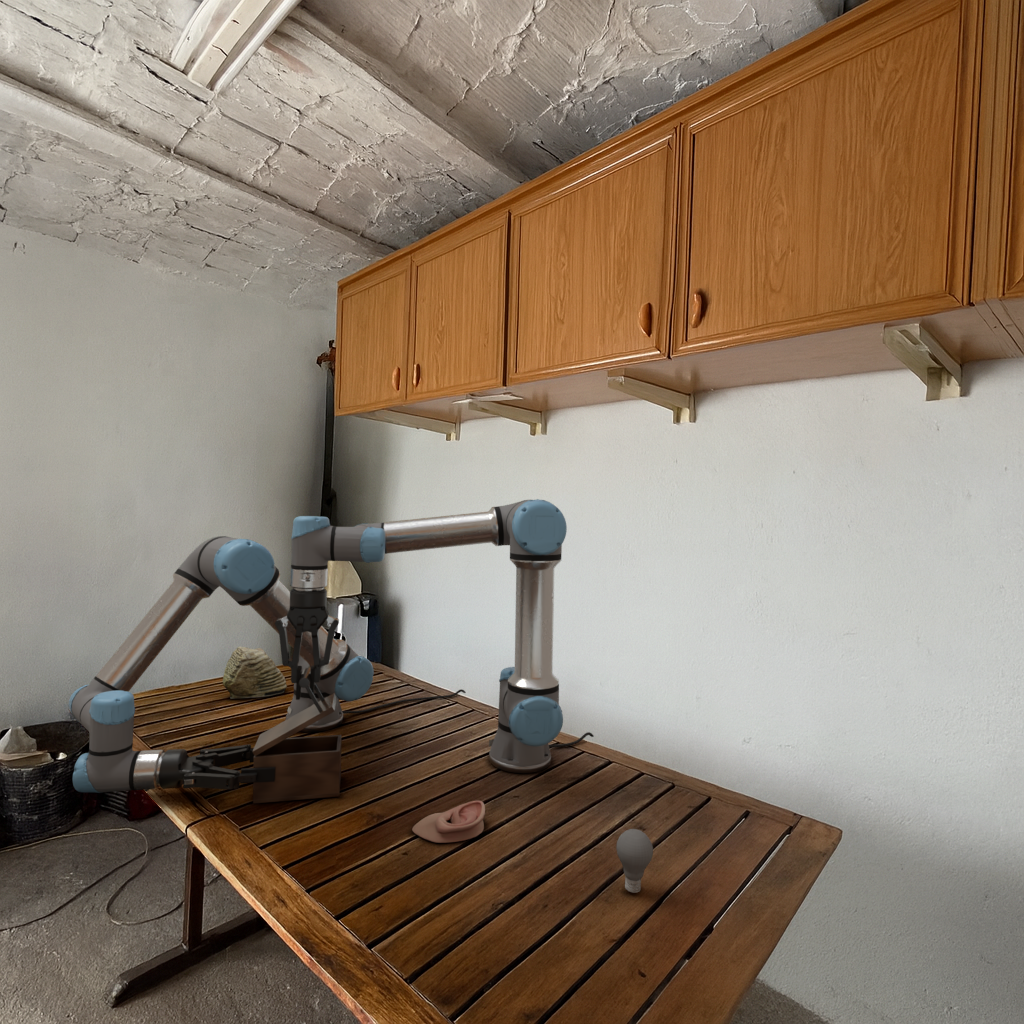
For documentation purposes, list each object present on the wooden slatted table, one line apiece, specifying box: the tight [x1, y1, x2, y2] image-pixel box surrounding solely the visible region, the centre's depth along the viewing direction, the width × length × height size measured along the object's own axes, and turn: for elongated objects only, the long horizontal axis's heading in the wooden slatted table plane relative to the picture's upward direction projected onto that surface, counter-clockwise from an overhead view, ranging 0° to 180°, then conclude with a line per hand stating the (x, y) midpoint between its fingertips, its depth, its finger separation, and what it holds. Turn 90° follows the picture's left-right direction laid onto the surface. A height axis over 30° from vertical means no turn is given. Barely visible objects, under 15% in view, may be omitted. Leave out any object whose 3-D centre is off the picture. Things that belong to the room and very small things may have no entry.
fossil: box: [222, 646, 288, 699], centre depth 198 cm, size 9×18×15 cm, turn 132°
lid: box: [252, 668, 337, 756], centre depth 135 cm, size 18×9×9 cm, turn 102°
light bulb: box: [615, 828, 654, 894], centre depth 106 cm, size 6×6×10 cm
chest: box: [252, 734, 343, 804], centre depth 136 cm, size 17×9×10 cm, turn 103°
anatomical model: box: [411, 800, 486, 844], centre depth 123 cm, size 13×4×12 cm
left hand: (278, 764), depth 135 cm, fingers closed on chest, 9 cm apart
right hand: (305, 697), depth 136 cm, fingers closed on lid, 2 cm apart
